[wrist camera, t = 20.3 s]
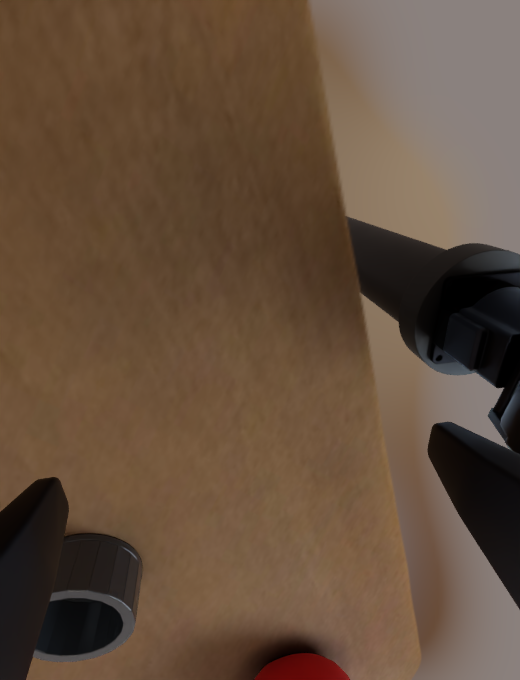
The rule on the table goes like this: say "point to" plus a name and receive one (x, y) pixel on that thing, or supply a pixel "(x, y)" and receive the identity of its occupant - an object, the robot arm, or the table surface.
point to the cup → (91, 599)
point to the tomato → (302, 668)
